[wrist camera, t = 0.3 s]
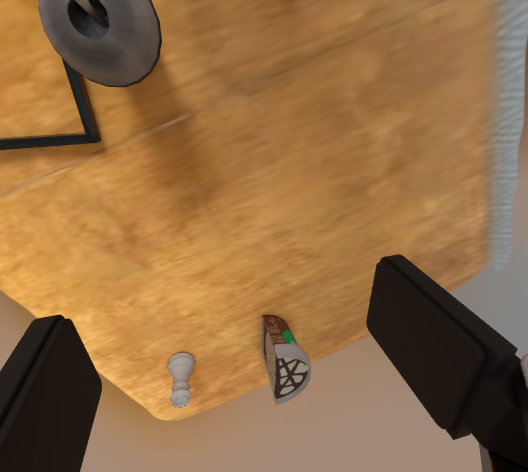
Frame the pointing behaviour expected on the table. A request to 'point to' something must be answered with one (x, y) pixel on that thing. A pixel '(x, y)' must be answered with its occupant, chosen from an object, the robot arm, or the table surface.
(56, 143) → the frame
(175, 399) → the rook chess piece
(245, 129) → the table surface
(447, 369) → the robot arm
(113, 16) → the beverage cup
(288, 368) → the food container
